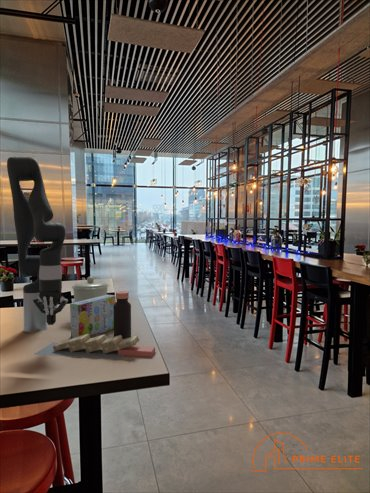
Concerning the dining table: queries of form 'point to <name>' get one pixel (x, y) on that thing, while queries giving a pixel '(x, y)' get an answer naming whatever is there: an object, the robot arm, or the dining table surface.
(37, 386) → the dining table surface
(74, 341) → the domino
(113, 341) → the domino
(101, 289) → the canister
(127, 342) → the domino
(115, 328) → the bottle
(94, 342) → the domino
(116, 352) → the board
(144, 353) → the domino
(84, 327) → the snack box
